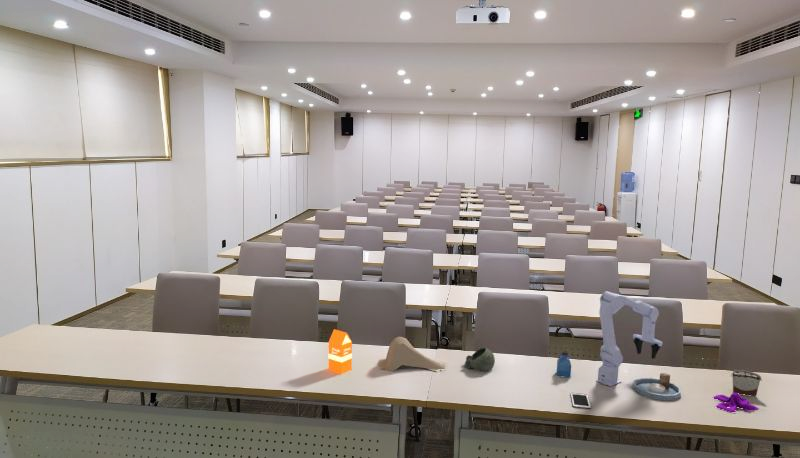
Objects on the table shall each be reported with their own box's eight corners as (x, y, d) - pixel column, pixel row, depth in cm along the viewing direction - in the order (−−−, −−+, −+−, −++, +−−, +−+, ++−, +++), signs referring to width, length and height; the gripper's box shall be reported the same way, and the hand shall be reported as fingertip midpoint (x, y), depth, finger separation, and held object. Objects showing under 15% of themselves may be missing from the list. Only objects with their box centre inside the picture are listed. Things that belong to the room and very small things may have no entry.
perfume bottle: (570, 377, 282) (572, 354, 280) (557, 376, 283) (558, 353, 281) (569, 373, 288) (570, 350, 286) (556, 371, 289) (558, 349, 287)
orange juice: (338, 365, 290) (339, 327, 288) (351, 369, 285) (352, 330, 283) (328, 370, 284) (328, 331, 281) (341, 374, 279) (341, 334, 276)
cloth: (718, 413, 247) (719, 400, 246) (703, 395, 265) (705, 383, 265) (774, 418, 243) (776, 405, 243) (756, 400, 261) (757, 387, 261)
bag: (376, 377, 286) (445, 379, 281) (373, 345, 282) (444, 346, 277) (382, 360, 305) (448, 361, 300) (380, 329, 301) (447, 330, 296)
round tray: (665, 403, 254) (666, 399, 254) (625, 388, 270) (625, 383, 270) (688, 393, 266) (689, 388, 266) (648, 379, 282) (648, 374, 282)
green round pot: (464, 361, 300) (465, 343, 299) (493, 363, 299) (494, 344, 297) (464, 372, 286) (465, 353, 284) (495, 374, 284) (495, 354, 283)
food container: (756, 392, 269) (758, 371, 268) (759, 397, 264) (762, 376, 262) (726, 388, 273) (728, 368, 272) (729, 393, 267) (731, 372, 266)
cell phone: (572, 408, 249) (572, 406, 248) (570, 394, 263) (570, 392, 263) (591, 410, 247) (591, 408, 247) (587, 396, 261) (587, 394, 261)
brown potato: (666, 389, 269) (667, 377, 268) (657, 386, 272) (658, 374, 271) (670, 387, 271) (672, 375, 271) (661, 384, 275) (663, 372, 274)
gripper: (666, 332, 279) (664, 358, 281) (639, 324, 291) (637, 350, 293) (658, 334, 275) (656, 361, 277) (631, 326, 287) (629, 352, 289)
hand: (646, 355), depth 285 cm, fingers open, 7 cm apart
